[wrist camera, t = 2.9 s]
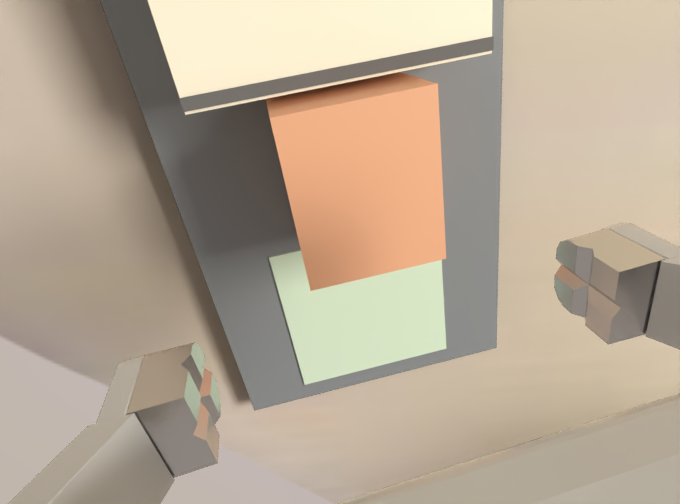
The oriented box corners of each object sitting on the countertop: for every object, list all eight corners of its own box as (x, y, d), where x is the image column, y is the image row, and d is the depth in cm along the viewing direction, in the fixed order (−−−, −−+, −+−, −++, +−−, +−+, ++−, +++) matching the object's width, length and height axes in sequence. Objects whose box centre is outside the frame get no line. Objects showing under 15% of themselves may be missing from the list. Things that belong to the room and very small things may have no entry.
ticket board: (496, -725, 10) (633, -1147, 6) (488, 336, 25) (526, 387, 22) (-148, -694, 9) (-423, -1188, 5) (254, 396, 24) (254, 460, 21)
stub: (393, 69, 16) (437, 83, 13) (406, 211, 19) (446, 258, 15) (265, 95, 16) (269, 118, 12) (298, 236, 19) (310, 291, 15)
